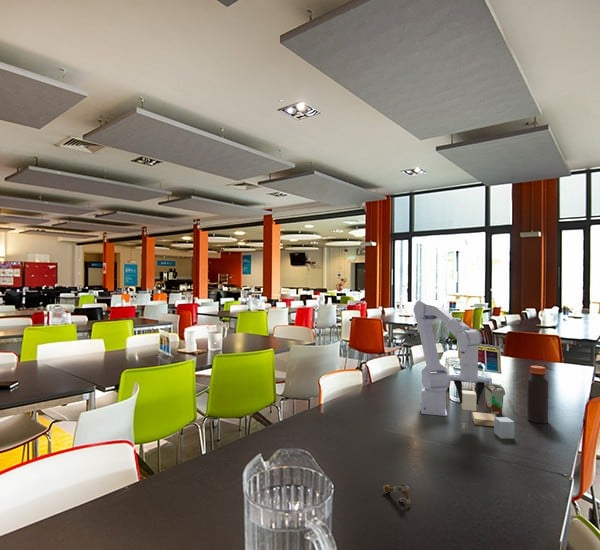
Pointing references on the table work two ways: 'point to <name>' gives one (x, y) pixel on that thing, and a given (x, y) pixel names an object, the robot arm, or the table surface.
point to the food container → (494, 399)
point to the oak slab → (483, 418)
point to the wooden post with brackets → (397, 489)
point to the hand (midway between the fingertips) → (468, 403)
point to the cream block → (469, 400)
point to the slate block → (504, 427)
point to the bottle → (537, 396)
